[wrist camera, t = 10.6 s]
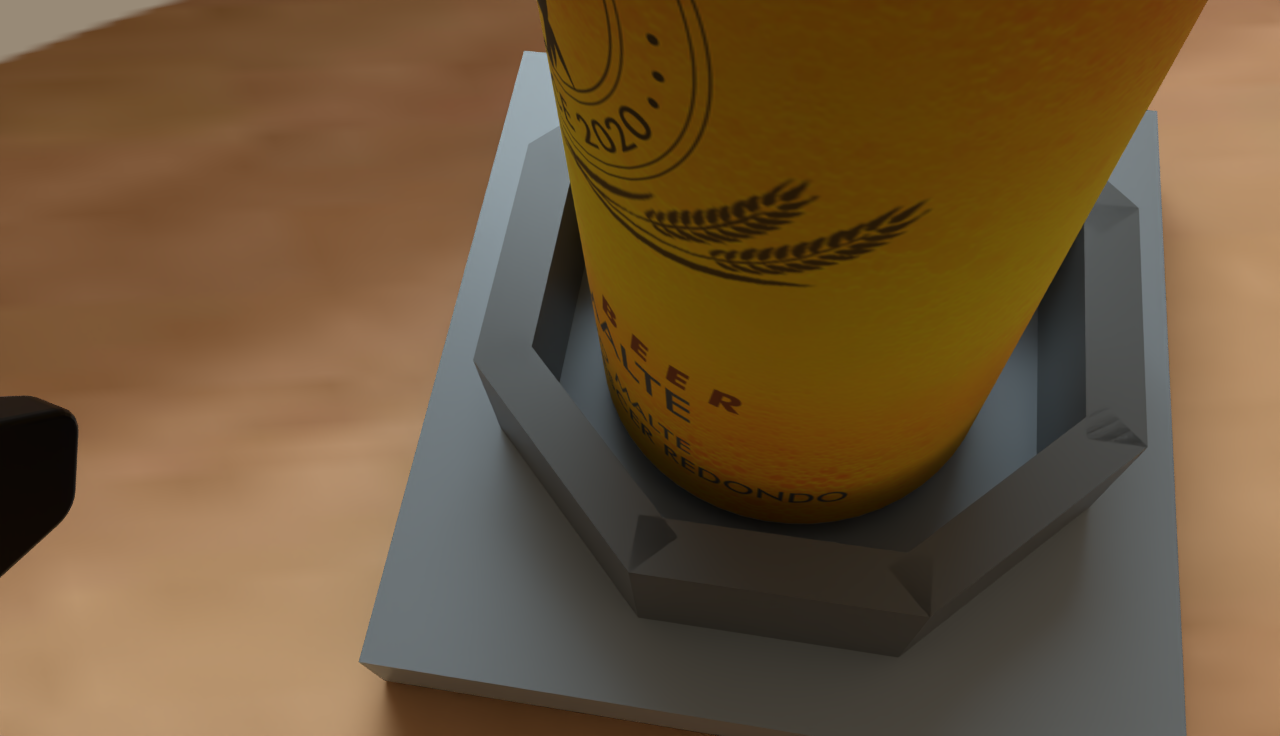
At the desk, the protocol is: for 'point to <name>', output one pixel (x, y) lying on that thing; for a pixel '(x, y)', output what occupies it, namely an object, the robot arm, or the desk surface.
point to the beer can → (833, 218)
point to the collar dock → (792, 553)
